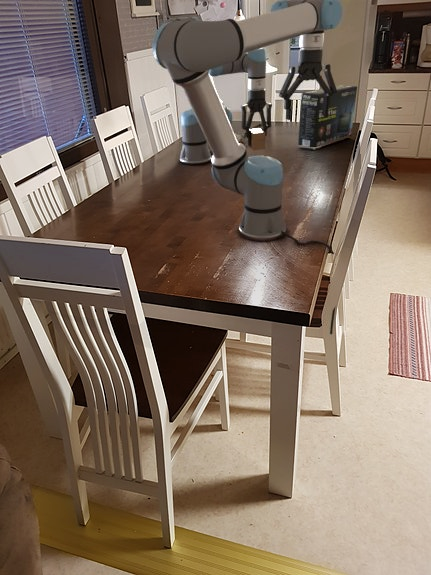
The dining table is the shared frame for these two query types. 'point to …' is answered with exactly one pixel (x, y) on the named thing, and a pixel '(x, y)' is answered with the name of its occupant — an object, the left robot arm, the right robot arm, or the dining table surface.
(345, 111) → the router box
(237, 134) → the fossil
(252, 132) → the brick
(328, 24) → the right robot arm
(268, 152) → the dining table surface
